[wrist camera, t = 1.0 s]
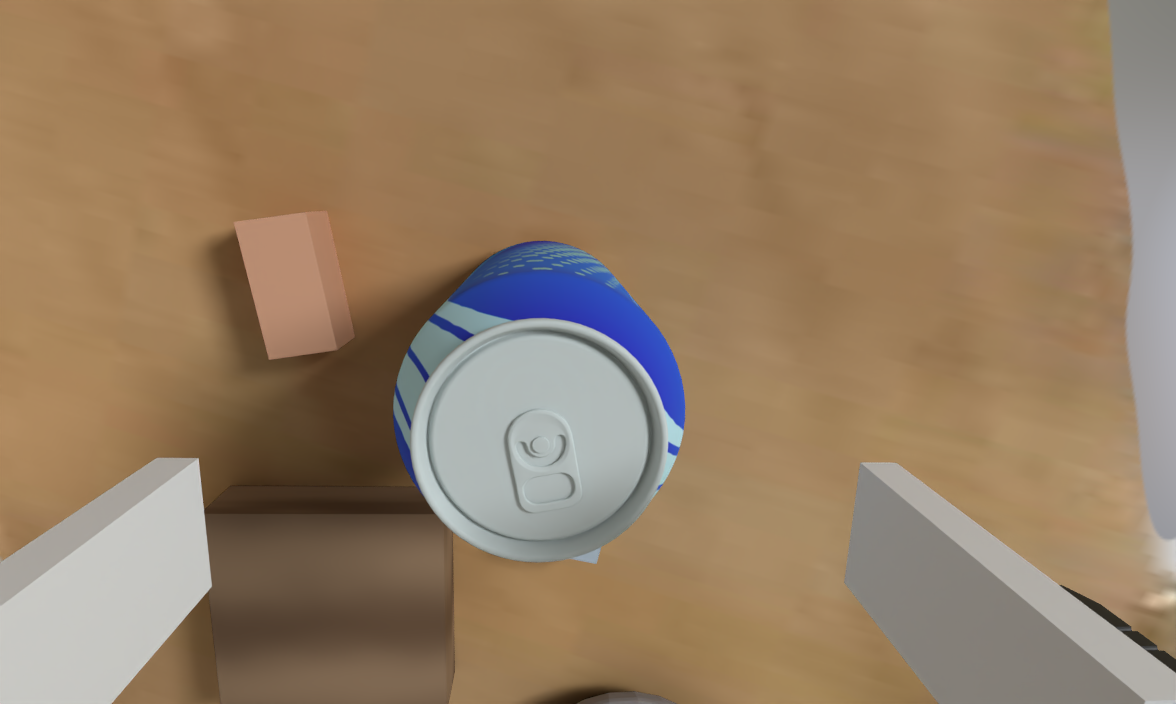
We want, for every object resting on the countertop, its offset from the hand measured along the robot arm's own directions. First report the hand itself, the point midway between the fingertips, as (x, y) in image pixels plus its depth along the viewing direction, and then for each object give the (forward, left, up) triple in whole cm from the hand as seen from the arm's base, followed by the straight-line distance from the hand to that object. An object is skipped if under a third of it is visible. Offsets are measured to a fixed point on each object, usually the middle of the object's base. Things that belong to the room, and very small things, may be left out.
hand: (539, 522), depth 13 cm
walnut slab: (+14, -10, -20) cm, 26 cm away
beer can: (0, 0, -20) cm, 20 cm away
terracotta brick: (-2, -11, -20) cm, 23 cm away
